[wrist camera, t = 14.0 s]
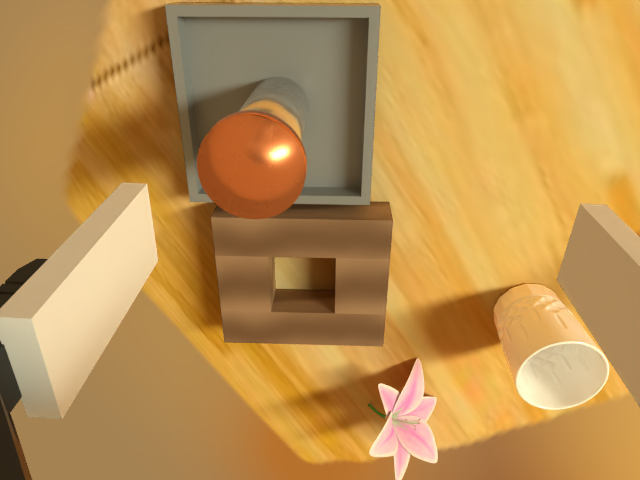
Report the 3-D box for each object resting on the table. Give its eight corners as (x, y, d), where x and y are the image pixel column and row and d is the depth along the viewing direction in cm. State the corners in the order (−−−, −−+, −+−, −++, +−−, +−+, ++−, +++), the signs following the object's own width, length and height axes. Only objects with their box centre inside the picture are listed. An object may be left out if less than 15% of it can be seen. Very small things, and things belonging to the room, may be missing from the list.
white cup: (532, 263, 51) (572, 326, 42) (580, 308, 53) (628, 375, 44) (471, 311, 54) (496, 378, 45) (519, 351, 56) (552, 423, 47)
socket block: (220, 199, 49) (210, 217, 45) (389, 202, 48) (392, 220, 45) (231, 318, 55) (224, 342, 52) (380, 321, 55) (383, 346, 51)
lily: (424, 431, 64) (472, 474, 55) (337, 458, 60) (374, 509, 51) (418, 340, 62) (467, 369, 53) (328, 362, 58) (364, 397, 49)
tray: (176, 2, 41) (164, 4, 38) (378, 3, 40) (380, 6, 38) (198, 189, 48) (189, 202, 46) (368, 191, 48) (369, 205, 45)
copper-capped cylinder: (238, 67, 42) (190, 114, 28) (316, 68, 42) (305, 116, 28) (243, 143, 45) (202, 218, 32) (316, 144, 45) (306, 220, 31)
